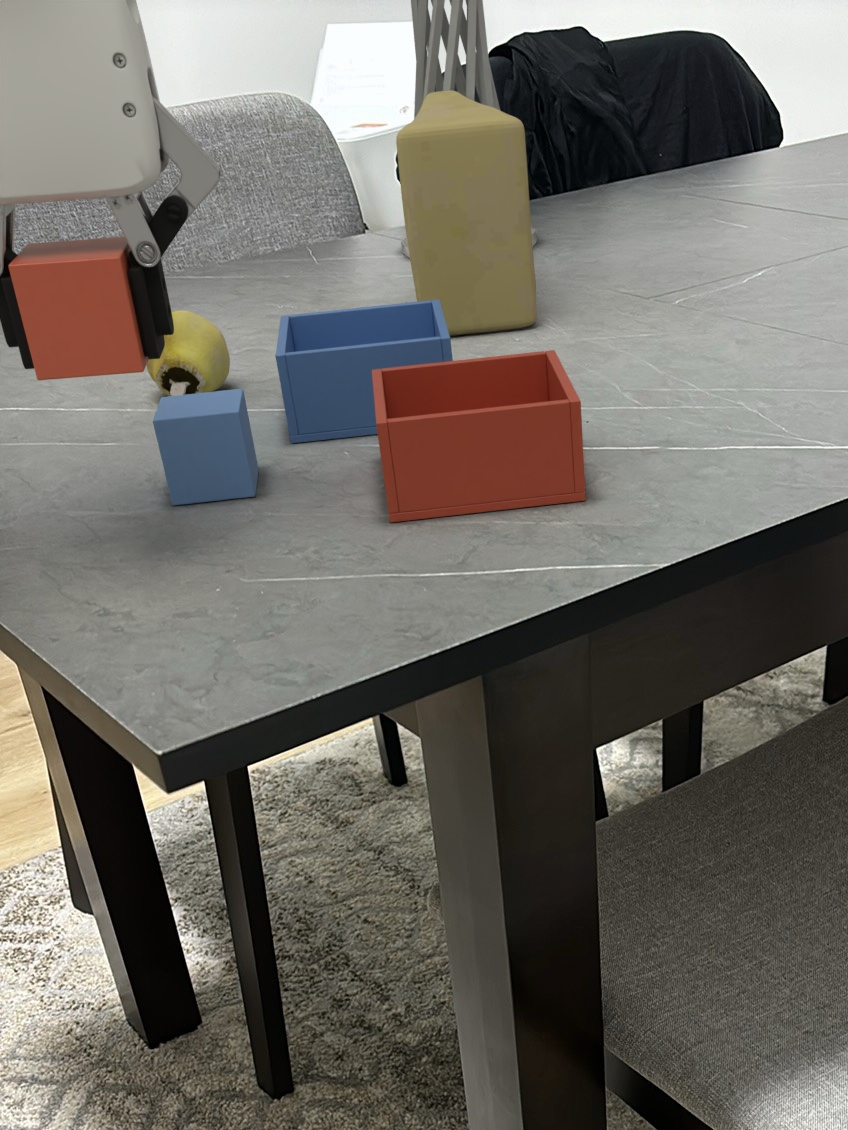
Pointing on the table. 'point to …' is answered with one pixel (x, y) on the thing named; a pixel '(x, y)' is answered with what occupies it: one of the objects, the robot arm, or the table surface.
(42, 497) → the table surface
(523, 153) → the cheese
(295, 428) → the blue bin
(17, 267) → the red block
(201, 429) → the blue block
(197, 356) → the mushroom
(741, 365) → the table surface
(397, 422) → the red bin
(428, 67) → the vase
